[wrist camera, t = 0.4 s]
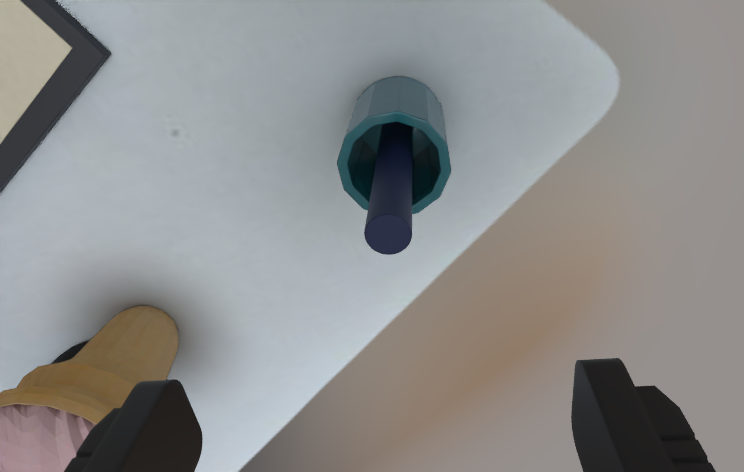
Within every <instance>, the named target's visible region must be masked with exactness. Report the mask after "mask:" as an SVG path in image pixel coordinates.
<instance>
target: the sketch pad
mask: <svg viewBox="0 0 744 472" xmlns="http://www.w3.org/2000/svg"><path fill="white" fill-rule="evenodd" d="M110 54H111V53H110V52H109V51H108V50H107V49H106V48H104V47H103V46H102V45H101V44H100V43H99V42H98V41H97V40H96V39H95V38H94V37H93V36H92V35H91V34H89V33H88V32H87V31H86V30H85V29H84V28H83V27H82V26H81V25H80V24H79V23H78V22H77V21H76V20H74V19H73V18H72V17H71V16H70V15H69V14H68V13H67V12H66V11H65V10H64V9H63V8H62V7H61V6H60V5H58V4H57V3H56V2H55V1H54V0H0V192H1V191H2V190H3V188H4V187H5V186H6V185H7V183H8V182H9V181H10V180H11V178H12V177H13V176H14V175H15V173H16V172H17V171H18V170H19V168H20V167H21V166H22V165H23V163H24V162H25V161H26V160H27V158H28V157H29V156H30V155H31V153H32V152H33V151H34V150H35V148H36V147H37V146H38V145H39V143H40V142H41V141H42V140H43V138H44V137H45V136H46V135H47V133H48V132H49V131H50V130H51V128H52V127H53V126H54V125H55V123H56V122H57V121H58V120H59V118H60V117H61V116H62V115H63V113H64V112H65V111H66V110H67V108H68V107H69V106H70V105H71V103H72V102H73V101H74V100H75V98H76V97H77V96H78V95H79V93H80V92H81V91H82V90H83V88H84V87H85V86H86V85H87V83H88V82H89V81H90V80H91V78H92V77H93V76H94V75H95V73H96V72H97V71H98V70H99V68H100V67H101V66H102V65H103V63H104V62H105V61H106V60H107V58H108V57H109V56H110Z"/></svg>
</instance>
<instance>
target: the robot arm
mask: <svg viewBox="0 0 744 472" xmlns="http://www.w3.org/2000/svg"><path fill="white" fill-rule="evenodd" d="M574 375H575V376H574V387H573V401H572V416H571V418H572V430H573V437H574V441H575V446H576V450H577V453H578V456H579V459H580V462H581V465H582V468H583V472H716V471H715V470H714V468H713V466H712V464H711V463H709V462H708V460H707V455H706V454H705V452H704V450H703V449H702V447H701V445H700V443H699V441H698V440H696V439H695V436H694V435H695V434H694V432H693V431H692V429H691V427H690V425H689V424H688V422H687V420H686V418H685V417H684V415H683V413H682V411H681V410H680V408H679V407H678V406H677V405H676V404H675V403H674V402H672V401H671V400H670V399H669V398H668V397H667V396H666V395H665V394H663V393H662V392H661V391H660V390H659V389H658V388H656V387H655V386H640V387H639V386H638V387H635V386H634V384H633V382H632V380H631V378H630V376H629V373H628V372H627V369H626V367H625V366H624V364H623V362H622V361H621V360H620V359H619V358H613V359H593V360H577V362H576V365H575V374H574ZM201 450H202V432H201V428H200V425H199V423H198V421H197V418H196V416H195V414H194V411H193V409H192V407H191V405H190V402H189V400H188V398H187V395H186V393H185V391H184V388H183V386H182V384H181V383H180V382H179V381H178V380H157V381H141V382H139V383H137V384H136V385H135V386H134V388H133V389H132V391H131V392H130V394H129V395H128V397H127V399H126V400H125V402H124V403H123V405H122V407H121V408H114V409H113V410H112V411H111V412H110V413H109V414H107V415H106V416H105V417H104V418H103V419H102V420H101V421H100V422H99V423H98V424H97V425H96V426H94V427H93V428H92V429H91V431H90V432H89V434H88V435H87V437H86V438H85V440H84V441H83V443H82V445H81V446H80V448H79V449H78V451H77V452H76V457H75V458H72V460H71V461H70V463H69V464H68V466H67V467H66V469H65V471H64V472H194V471H195V468H196V466H197V463H198V461H199V458H200V455H201Z"/></svg>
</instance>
